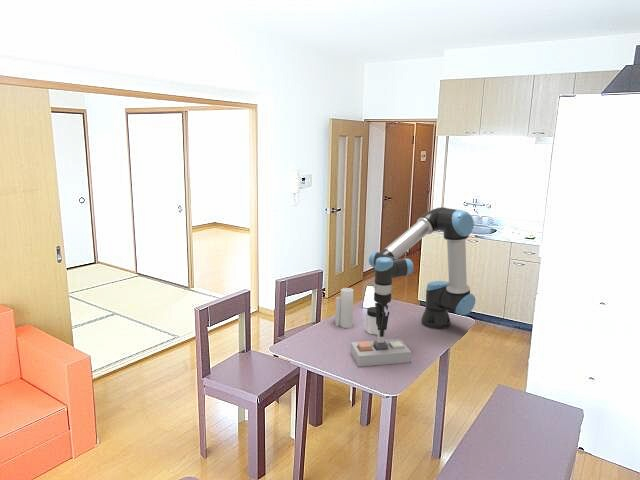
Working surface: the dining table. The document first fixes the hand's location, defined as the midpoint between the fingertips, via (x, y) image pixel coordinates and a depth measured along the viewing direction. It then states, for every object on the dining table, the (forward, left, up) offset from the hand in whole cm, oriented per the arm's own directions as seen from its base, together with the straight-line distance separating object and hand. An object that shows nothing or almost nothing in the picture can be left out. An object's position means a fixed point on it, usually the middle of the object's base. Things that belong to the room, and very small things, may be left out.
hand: (380, 342), depth 213 cm
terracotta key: (+7, 0, -2) cm, 8 cm away
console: (0, 0, -7) cm, 7 cm away
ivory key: (-8, 0, -3) cm, 8 cm away
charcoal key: (0, 0, -2) cm, 2 cm away
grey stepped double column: (+8, -40, -8) cm, 41 cm away
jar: (-6, -28, -8) cm, 30 cm away
